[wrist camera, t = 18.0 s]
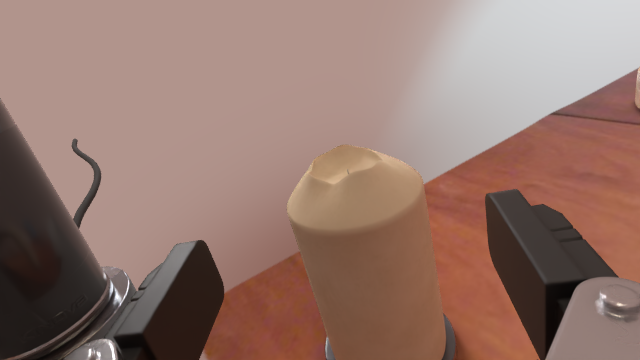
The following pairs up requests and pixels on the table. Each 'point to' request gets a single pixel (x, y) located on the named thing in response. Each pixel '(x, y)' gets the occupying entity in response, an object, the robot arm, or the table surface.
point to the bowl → (638, 90)
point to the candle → (369, 255)
